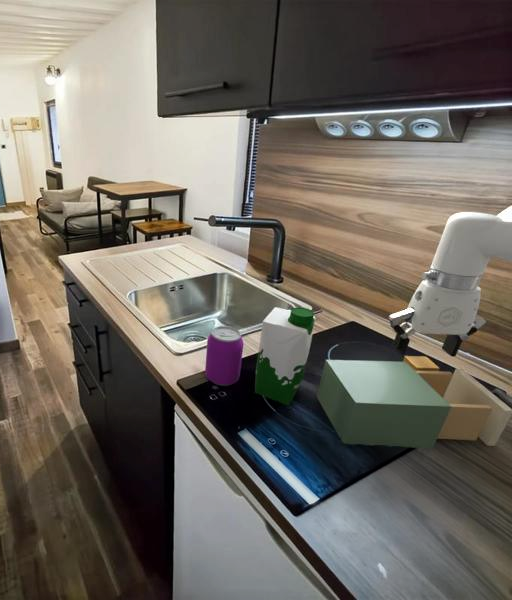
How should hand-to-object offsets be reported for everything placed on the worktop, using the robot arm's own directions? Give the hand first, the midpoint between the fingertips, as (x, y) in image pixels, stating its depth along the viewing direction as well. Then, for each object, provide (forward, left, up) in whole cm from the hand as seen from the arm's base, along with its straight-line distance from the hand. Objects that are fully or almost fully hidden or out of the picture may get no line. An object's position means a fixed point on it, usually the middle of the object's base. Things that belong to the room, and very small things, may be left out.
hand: (423, 351), depth 78 cm
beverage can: (+42, +2, -7) cm, 42 cm away
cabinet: (+16, +14, -7) cm, 22 cm away
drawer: (+3, +14, -6) cm, 16 cm away
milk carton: (+31, +6, -7) cm, 32 cm away
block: (0, 0, -7) cm, 7 cm away
